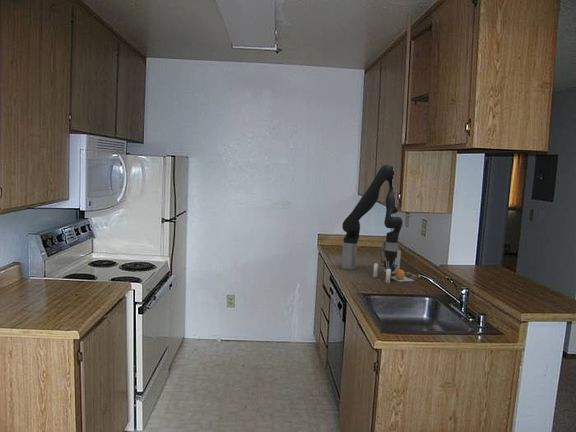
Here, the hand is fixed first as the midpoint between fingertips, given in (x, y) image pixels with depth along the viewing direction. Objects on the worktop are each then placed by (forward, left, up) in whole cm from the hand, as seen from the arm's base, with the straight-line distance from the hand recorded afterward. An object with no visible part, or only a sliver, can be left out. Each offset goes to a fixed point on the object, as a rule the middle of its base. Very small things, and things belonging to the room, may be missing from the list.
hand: (388, 277), depth 292 cm
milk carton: (-17, +12, -1) cm, 21 cm away
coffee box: (-37, +21, -1) cm, 42 cm away
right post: (+8, -5, -1) cm, 9 cm away
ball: (+1, +7, +2) cm, 7 cm away
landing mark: (0, +9, -1) cm, 9 cm away
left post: (-7, -5, -1) cm, 9 cm away
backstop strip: (0, +15, -1) cm, 15 cm away
